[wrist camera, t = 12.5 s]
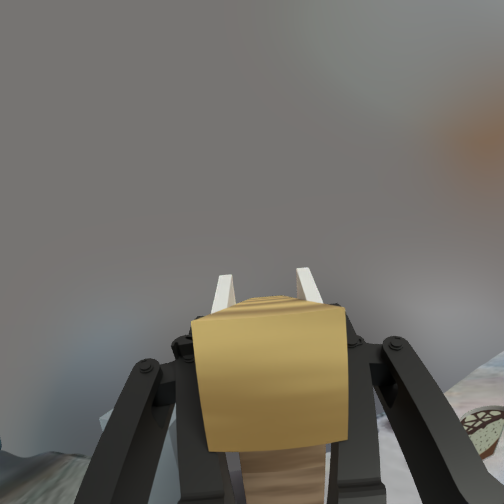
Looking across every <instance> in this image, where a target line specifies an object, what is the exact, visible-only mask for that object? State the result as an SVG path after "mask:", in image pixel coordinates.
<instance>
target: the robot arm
mask: <svg viewBox="0 0 504 504" xmlns="http://www.w3.org/2000/svg"><path fill="white" fill-rule="evenodd" d="M296 273H297V299H301V300H306V301H312V302H317V303H323V301H322V299H321V297H320V294H319V292H318V289H317V287H316V285H315V282H314V280H313V277H312V275H311V272H310V270H309V268H298V269H296ZM235 304H236V301H235V294H234V287H233V280H232V275H220V276H219V280H218V285H217V289H216V294H215V298H214V303H213V307H212V312H211V314H212V313H215V312H217V311H220V310H222V309H225V308H228V307H230V306H233V305H235ZM328 305H333V306H339V307H341V306H340V305H339V304H337V303H336V304H328ZM202 317H204V316H198V317H197V318H196V319H199V318H202ZM345 317H346V333H347V353H348V440H343V441H338V442H333V443H331V458H330V474H329V486H328V497H327V504H386V488H385V485H384V484H383V483H382V482H381V477H380V456H379V441H378V430H377V419H376V410H375V402H374V394H373V387H374V389H375V391H376V393H377V395H378V398H379V400H380V402H381V404H382V406H383V409H384V411H385V413H386V415H387V417H388V420H389V422H390V424H391V427H392V429H393V431H394V433H395V436H396V438H397V440H398V443H399V445H400V447H401V450H402V452H403V455H404V457H405V459H406V462H407V464H408V467H409V469H410V472H411V474H412V477H413V479H414V482H415V485H416V487H417V490H418V492H419V495H420V498H421V501H422V503H423V504H504V485H503V484H501V483H500V482H499V481H498V480H497V479H496V478H494V477H493V476H492V475H491V474H490V473H489V472H488V471H487V469H486V467H485V465H484V463H483V461H482V459H481V457H480V455H479V453H478V452H477V450H476V448H475V446H474V444H473V443H472V441H471V439H470V437H469V435H468V434H467V432H466V430H465V429H464V427H463V425H462V423H461V422H460V420H459V418H458V417H457V415H456V413H455V412H454V410H453V408H452V407H451V405H450V404H449V402H448V400H447V399H446V397H445V396H444V394H443V393H442V391H441V389H440V388H439V386H438V385H437V383H436V382H435V380H434V379H433V377H432V376H431V374H430V373H429V372H428V370H427V368H426V367H425V365H424V364H423V363H422V361H421V360H420V358H419V357H418V355H417V354H416V352H415V351H414V350H413V348H412V347H411V345H410V344H409V343H408V341H407V340H405V339H404V338H402V337H398V336H391V337H388V338H386V339H385V340H384V341H383V344H369V343H366V342H365V341H364V339H363V338H362V337H360V336H358V335H356V333H355V331H354V329H353V326H352V324H351V322H350V320H349V318H348V316H347V315H346V312H345ZM196 319H195V320H196ZM171 347H172V350H173V353H174V356H175V359H176V360H175V361H173V362H170V363H165V364H161V365H160V364H159V362H158V361H157V360H155V359H151V358H150V359H144V360H141V361H139V362H138V363H136V365H135V366H134V367H133V369H132V371H131V373H130V375H129V378H128V380H127V382H126V384H125V386H124V388H123V390H122V392H121V394H120V396H119V398H118V400H117V403H116V405H115V407H114V409H113V411H112V413H111V415H110V418H109V420H108V422H107V424H106V426H105V429H104V431H103V433H102V435H101V438H100V440H99V442H98V445H97V447H96V449H95V452H94V454H93V456H92V459H91V461H90V463H89V466H88V468H87V471H86V473H85V476H84V478H83V481H82V483H81V486H80V488H79V491H78V494H77V496H76V499H75V502H74V504H148V501H149V497H150V493H151V489H152V486H153V482H154V478H155V474H156V471H157V467H158V463H159V459H160V456H161V452H162V449H163V445H164V441H165V438H166V434H167V431H168V427H169V424H170V420H171V417H172V414H173V410H174V407H175V403H176V432H177V453H178V469H179V481H180V493H181V498H180V500H179V501H178V503H177V504H236V503H235V499H234V494H233V489H232V485H231V480H230V475H229V470H228V465H227V460H226V455H225V452H209V449H208V444H207V438H206V433H205V427H204V421H203V414H202V408H201V401H200V394H199V387H198V380H197V372H196V364H195V355H194V347H193V337H192V327H191V328H190V331H189V335H184V336H180V337H178V338H177V339H175V340H174V341H173V342H172V345H171ZM1 447H2V444H1V440H0V450H1Z"/></svg>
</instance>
